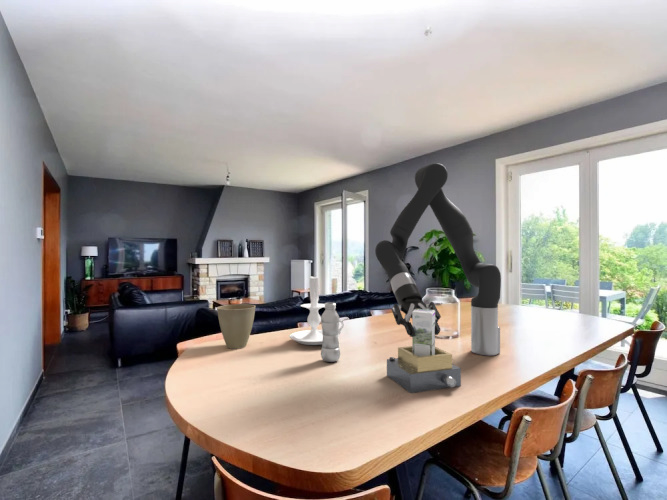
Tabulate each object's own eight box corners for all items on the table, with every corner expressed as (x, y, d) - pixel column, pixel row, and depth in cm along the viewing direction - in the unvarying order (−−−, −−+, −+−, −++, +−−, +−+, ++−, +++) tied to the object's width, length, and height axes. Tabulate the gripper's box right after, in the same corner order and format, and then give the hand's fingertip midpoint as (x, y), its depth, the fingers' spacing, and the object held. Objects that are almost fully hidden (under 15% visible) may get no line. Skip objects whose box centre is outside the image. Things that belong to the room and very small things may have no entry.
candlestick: (356, 344, 144) (356, 275, 144) (301, 352, 132) (301, 278, 132) (333, 333, 162) (332, 273, 162) (282, 340, 150) (282, 274, 150)
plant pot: (263, 344, 143) (263, 305, 143) (235, 353, 131) (235, 310, 131) (237, 339, 151) (237, 302, 151) (208, 348, 139) (208, 307, 139)
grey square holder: (432, 370, 112) (432, 341, 112) (468, 390, 96) (467, 356, 96) (386, 375, 107) (386, 346, 107) (416, 397, 91) (416, 362, 91)
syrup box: (435, 358, 104) (435, 309, 104) (432, 364, 98) (432, 312, 98) (416, 355, 106) (416, 307, 106) (411, 361, 101) (411, 311, 101)
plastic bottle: (338, 364, 118) (338, 304, 118) (318, 363, 119) (318, 304, 119) (341, 358, 124) (341, 302, 124) (323, 357, 125) (323, 301, 125)
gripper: (389, 283, 108) (408, 328, 97) (429, 281, 112) (452, 325, 101) (381, 298, 113) (399, 343, 102) (420, 296, 117) (441, 339, 106)
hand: (425, 334), depth 101 cm, fingers closed on syrup box, 7 cm apart
